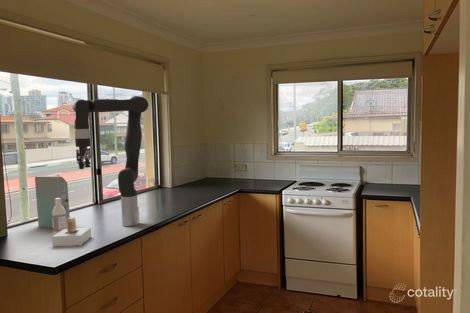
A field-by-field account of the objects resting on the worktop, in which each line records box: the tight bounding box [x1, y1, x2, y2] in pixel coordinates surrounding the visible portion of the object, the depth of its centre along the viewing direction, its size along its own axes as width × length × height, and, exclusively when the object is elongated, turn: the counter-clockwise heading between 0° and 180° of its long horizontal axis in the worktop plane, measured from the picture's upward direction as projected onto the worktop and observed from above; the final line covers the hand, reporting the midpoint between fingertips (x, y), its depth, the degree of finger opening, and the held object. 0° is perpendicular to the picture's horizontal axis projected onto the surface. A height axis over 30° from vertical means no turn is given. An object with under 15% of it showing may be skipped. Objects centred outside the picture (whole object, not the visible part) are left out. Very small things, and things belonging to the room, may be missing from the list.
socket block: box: [51, 227, 92, 247], centre depth 194 cm, size 14×14×5 cm
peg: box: [67, 217, 77, 234], centre depth 194 cm, size 4×4×12 cm
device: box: [34, 174, 71, 229], centre depth 226 cm, size 16×8×30 cm, turn 73°
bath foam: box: [52, 198, 67, 236], centre depth 207 cm, size 7×7×20 cm
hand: (84, 168), depth 203 cm, fingers open, 8 cm apart
